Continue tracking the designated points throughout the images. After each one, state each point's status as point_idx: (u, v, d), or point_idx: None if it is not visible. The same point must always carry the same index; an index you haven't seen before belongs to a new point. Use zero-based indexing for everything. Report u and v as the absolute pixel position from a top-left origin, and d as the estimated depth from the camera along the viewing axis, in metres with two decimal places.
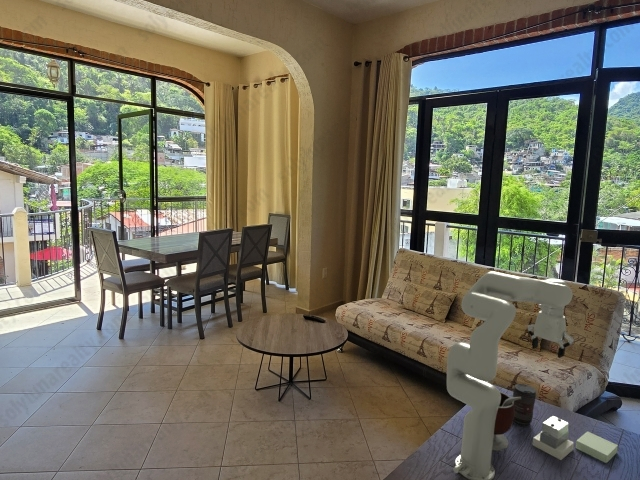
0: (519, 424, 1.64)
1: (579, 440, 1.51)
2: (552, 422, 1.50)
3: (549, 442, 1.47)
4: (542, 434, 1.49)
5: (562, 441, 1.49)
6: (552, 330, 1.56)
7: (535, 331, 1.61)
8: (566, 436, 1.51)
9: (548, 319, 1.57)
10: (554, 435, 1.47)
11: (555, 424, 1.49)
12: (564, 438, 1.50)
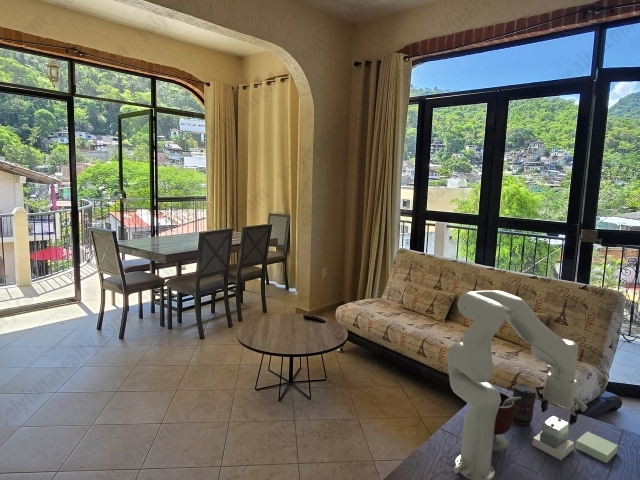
0: (519, 424, 1.64)
1: (579, 440, 1.51)
2: (552, 422, 1.50)
3: (549, 442, 1.47)
4: (542, 434, 1.49)
5: (562, 441, 1.49)
6: (563, 396, 1.45)
7: (544, 394, 1.50)
8: (566, 436, 1.51)
9: (558, 383, 1.46)
10: (554, 435, 1.47)
11: (555, 424, 1.49)
12: (564, 438, 1.50)
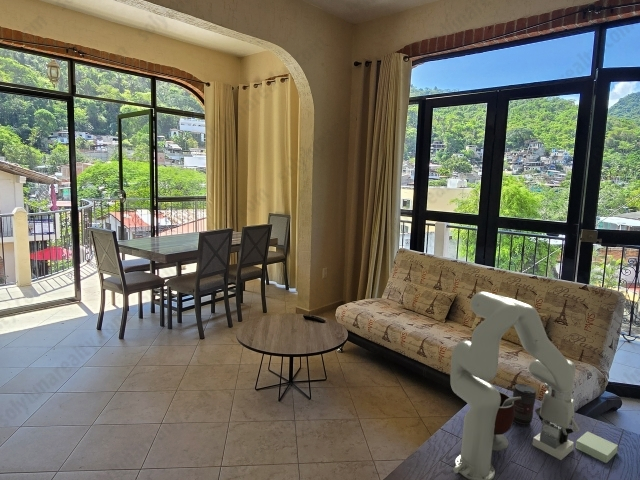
0: (519, 424, 1.64)
1: (579, 440, 1.51)
2: None
3: (549, 442, 1.47)
4: (542, 434, 1.49)
5: None
6: (559, 415, 1.46)
7: (541, 413, 1.51)
8: None
9: (555, 402, 1.47)
10: (554, 435, 1.47)
11: (555, 424, 1.49)
12: None
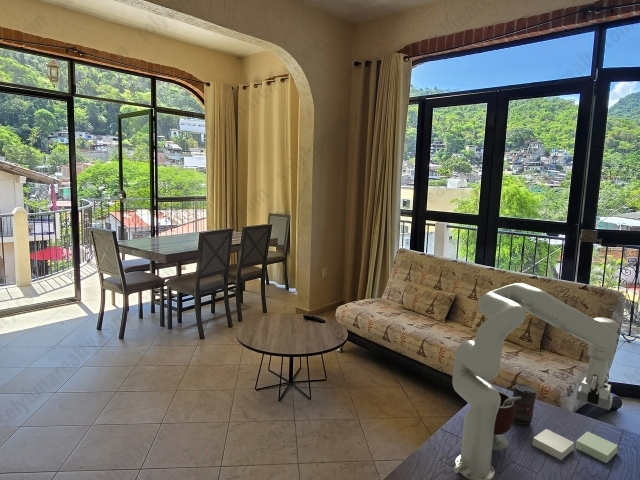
0: (519, 424, 1.64)
1: (579, 440, 1.51)
2: None
3: None
4: (580, 387, 1.52)
5: None
6: None
7: None
8: (605, 404, 1.43)
9: None
10: None
11: None
12: (600, 403, 1.44)
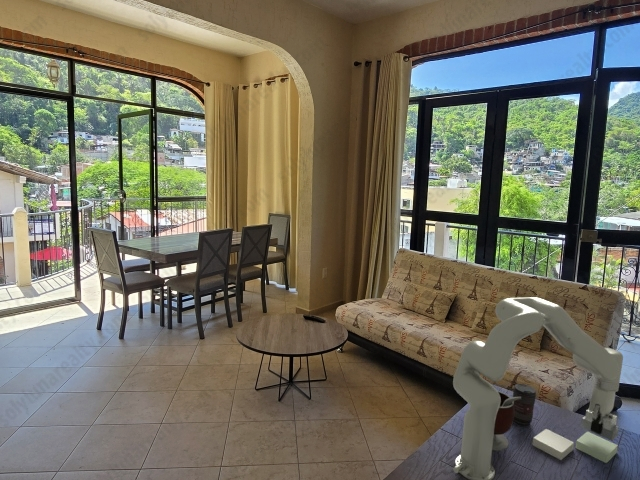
0: (519, 424, 1.64)
1: (579, 440, 1.51)
2: None
3: None
4: None
5: None
6: None
7: None
8: (608, 434, 1.45)
9: None
10: None
11: None
12: (603, 433, 1.46)
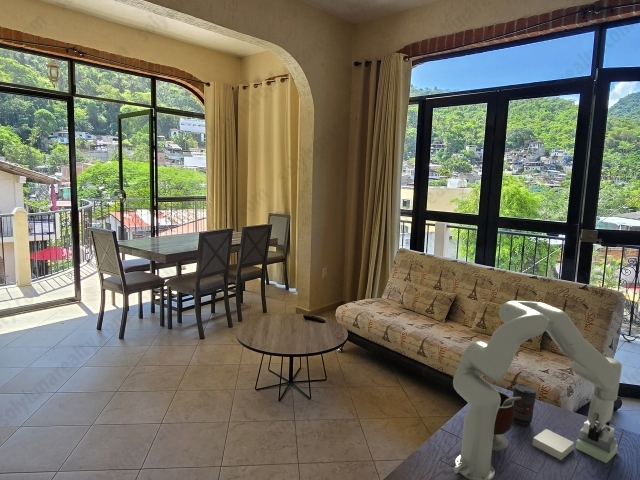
0: (519, 424, 1.64)
1: (579, 440, 1.51)
2: None
3: None
4: None
5: (595, 444, 1.48)
6: None
7: None
8: (605, 447, 1.45)
9: None
10: None
11: None
12: (601, 445, 1.46)
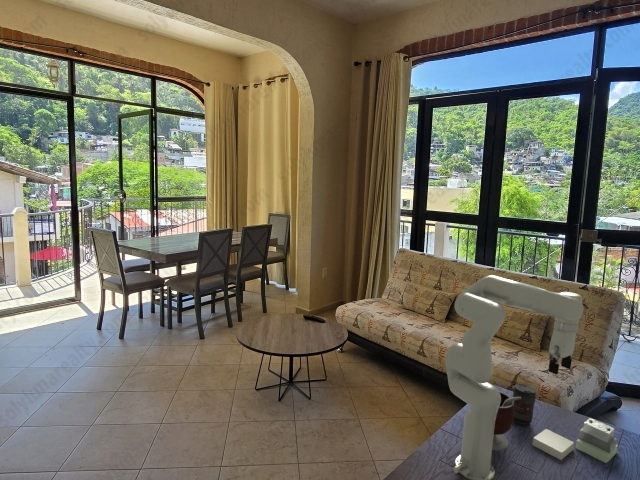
0: (519, 424, 1.64)
1: (579, 440, 1.51)
2: (597, 423, 1.50)
3: None
4: None
5: (595, 444, 1.48)
6: None
7: None
8: (605, 447, 1.45)
9: None
10: None
11: (594, 424, 1.50)
12: (601, 445, 1.46)
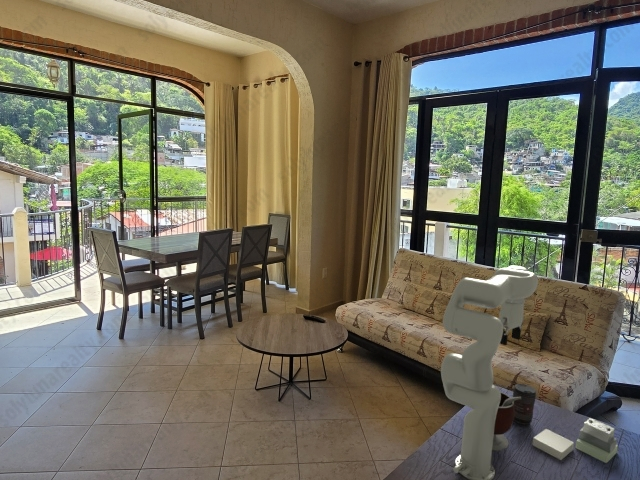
0: (519, 424, 1.64)
1: (579, 440, 1.51)
2: (597, 423, 1.50)
3: None
4: None
5: (595, 444, 1.48)
6: None
7: None
8: (605, 447, 1.45)
9: None
10: None
11: (594, 424, 1.50)
12: (601, 445, 1.46)
